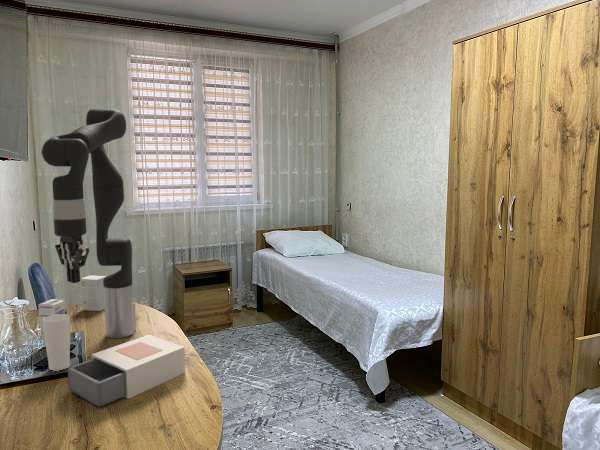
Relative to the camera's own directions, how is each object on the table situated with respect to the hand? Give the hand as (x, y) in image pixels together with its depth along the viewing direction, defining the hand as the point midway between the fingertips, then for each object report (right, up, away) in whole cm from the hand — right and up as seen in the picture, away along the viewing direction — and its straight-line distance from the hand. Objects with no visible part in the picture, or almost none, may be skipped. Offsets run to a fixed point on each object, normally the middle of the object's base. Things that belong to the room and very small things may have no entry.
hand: (73, 281), depth 120 cm
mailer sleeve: (+16, -27, +5) cm, 31 cm away
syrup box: (-19, -24, +27) cm, 41 cm away
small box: (-23, -19, +64) cm, 71 cm away
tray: (+12, -27, -1) cm, 29 cm away
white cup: (-9, -26, +10) cm, 29 cm away
